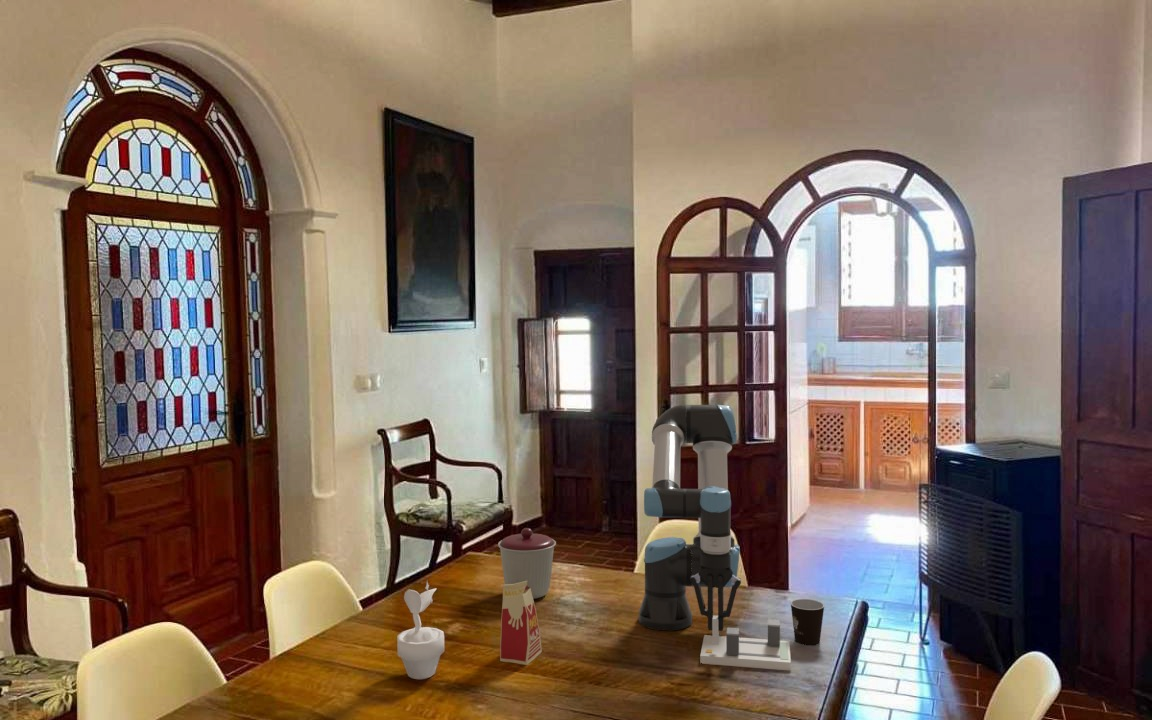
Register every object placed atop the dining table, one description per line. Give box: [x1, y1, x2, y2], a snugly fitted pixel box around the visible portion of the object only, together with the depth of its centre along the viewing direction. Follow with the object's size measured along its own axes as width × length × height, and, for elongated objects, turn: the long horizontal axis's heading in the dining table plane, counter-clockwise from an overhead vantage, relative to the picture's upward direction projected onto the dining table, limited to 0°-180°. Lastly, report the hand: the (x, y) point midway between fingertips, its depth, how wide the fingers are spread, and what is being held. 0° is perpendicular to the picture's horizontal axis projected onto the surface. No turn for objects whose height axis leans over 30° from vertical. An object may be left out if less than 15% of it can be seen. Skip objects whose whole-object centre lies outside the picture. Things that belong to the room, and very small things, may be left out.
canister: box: [497, 527, 557, 600], centre depth 268 cm, size 18×18×21 cm
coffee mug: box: [790, 598, 825, 647], centre depth 229 cm, size 12×9×10 cm
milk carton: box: [499, 580, 543, 666], centre depth 220 cm, size 9×9×20 cm
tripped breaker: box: [725, 627, 740, 655], centre depth 215 cm, size 3×4×5 cm
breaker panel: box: [699, 634, 792, 671], centre depth 219 cm, size 22×14×2 cm, turn 77°
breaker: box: [767, 618, 781, 646], centre depth 221 cm, size 3×4×5 cm
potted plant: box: [396, 581, 445, 680], centre depth 209 cm, size 13×12×25 cm
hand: (715, 642), depth 216 cm, fingers closed
